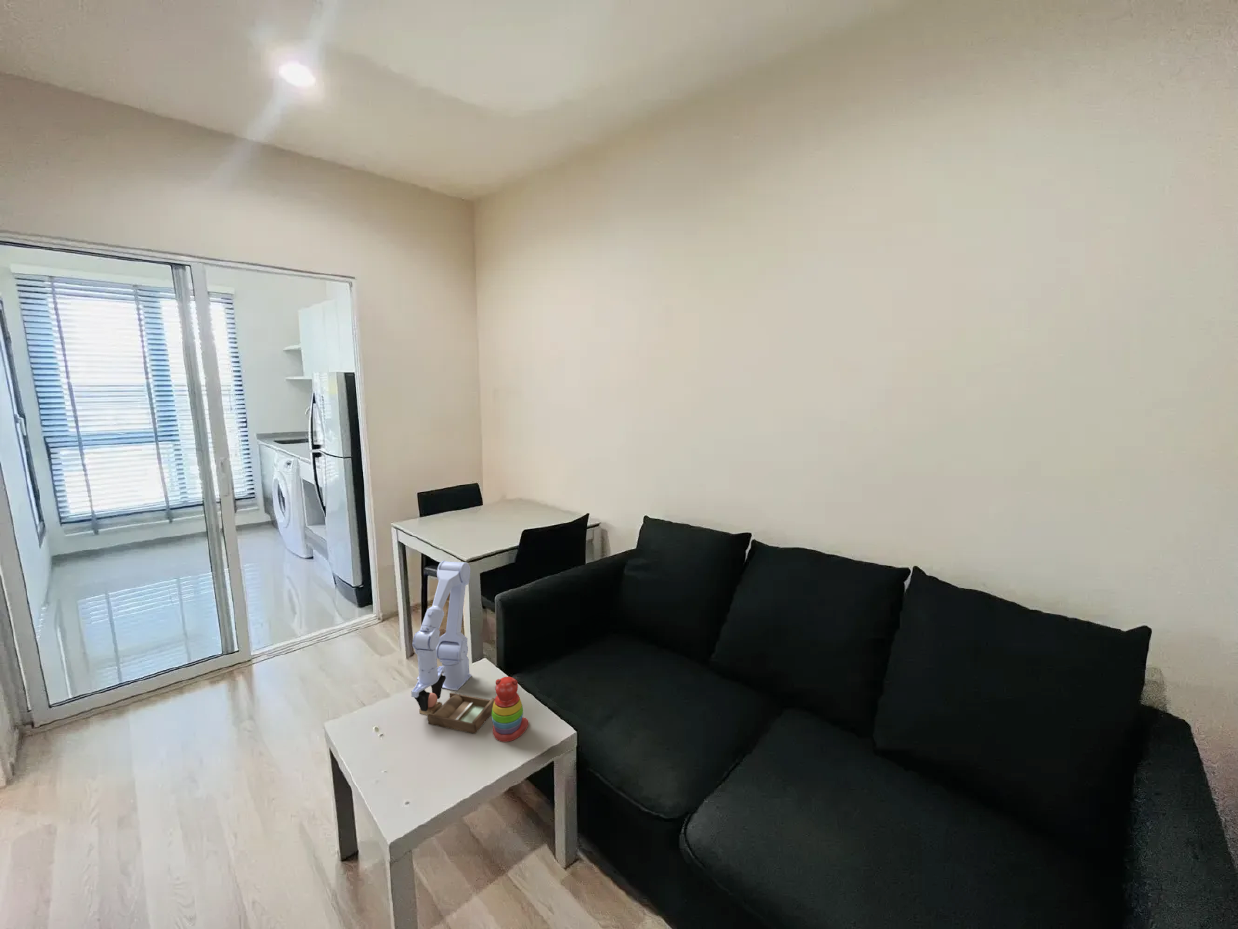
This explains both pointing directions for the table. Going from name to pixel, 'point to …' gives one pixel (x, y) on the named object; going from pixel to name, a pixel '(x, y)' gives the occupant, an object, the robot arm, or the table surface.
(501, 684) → the stacking bear
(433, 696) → the ball
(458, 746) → the table surface
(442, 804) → the table surface
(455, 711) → the wooden tray
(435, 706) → the wooden footed board
